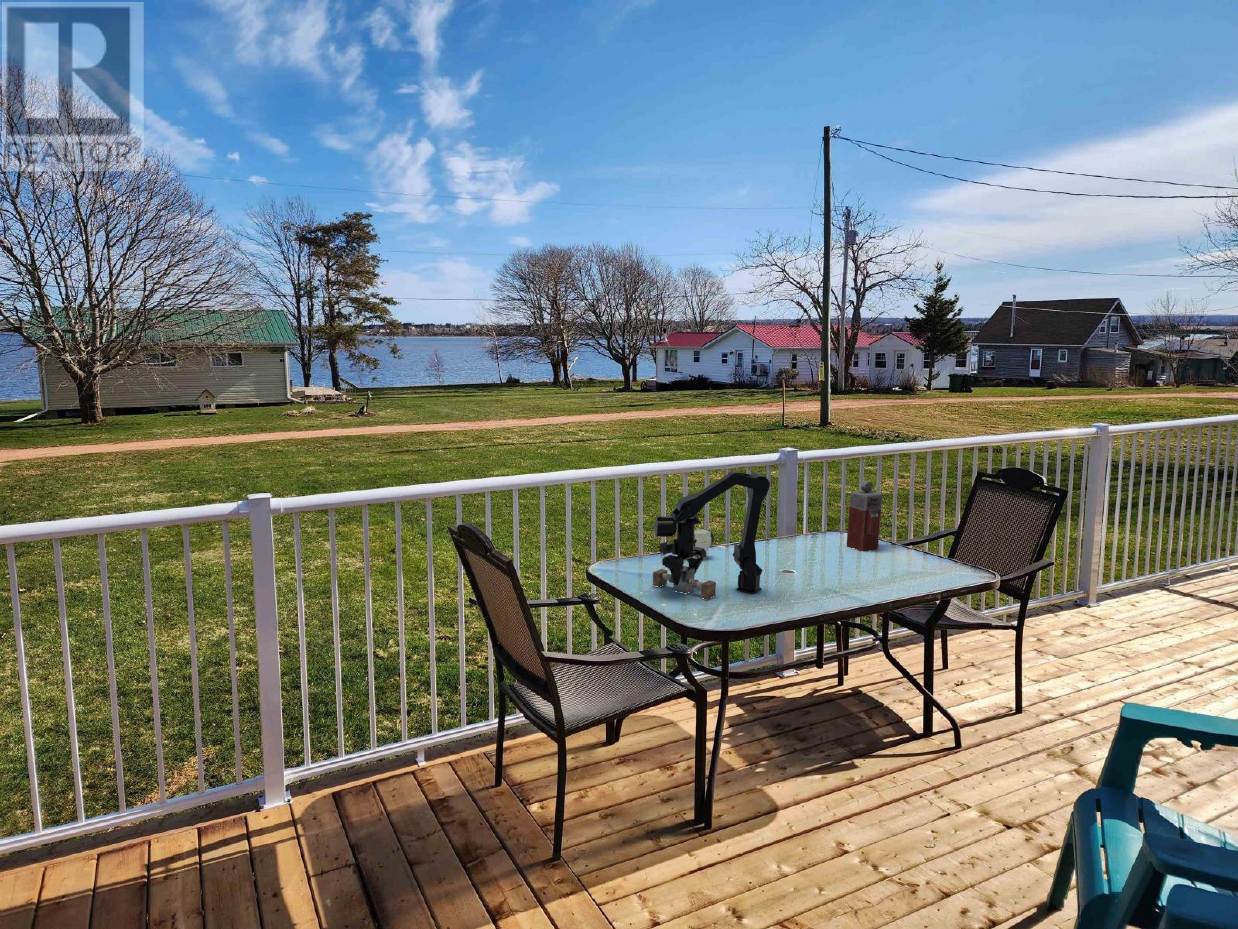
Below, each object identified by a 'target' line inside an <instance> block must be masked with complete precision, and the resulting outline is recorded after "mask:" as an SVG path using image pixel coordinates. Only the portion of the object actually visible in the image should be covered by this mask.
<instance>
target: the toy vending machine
mask: <svg viewBox="0 0 1238 929" xmlns="http://www.w3.org/2000/svg"><path fill="white" fill-rule="evenodd" d="M872 490H873V483H872V481H869V480H864V481H862V483H861V490H853V491H852V490H851V492H850V493H849V494H850V496H849V509H848V521H847V522H848V524H847V536H846V547H847V548H850V549H852V548H855V549H857V550H856V551H858V550H859V552H861V551H864V552H870V551H869V550H871V551H875V550H874V549H878V550H879V538H880V528H881V526H880V525H881V515H882V504H883V503H882V502H883V495H882V493H880V492H876V491H872ZM855 549H854V550H855Z"/></svg>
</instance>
